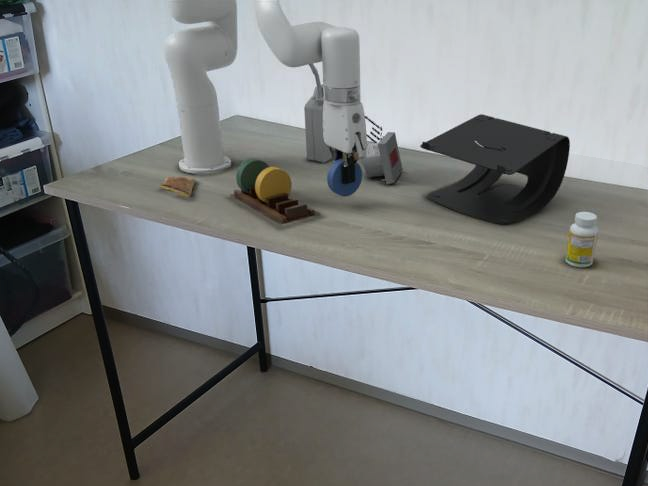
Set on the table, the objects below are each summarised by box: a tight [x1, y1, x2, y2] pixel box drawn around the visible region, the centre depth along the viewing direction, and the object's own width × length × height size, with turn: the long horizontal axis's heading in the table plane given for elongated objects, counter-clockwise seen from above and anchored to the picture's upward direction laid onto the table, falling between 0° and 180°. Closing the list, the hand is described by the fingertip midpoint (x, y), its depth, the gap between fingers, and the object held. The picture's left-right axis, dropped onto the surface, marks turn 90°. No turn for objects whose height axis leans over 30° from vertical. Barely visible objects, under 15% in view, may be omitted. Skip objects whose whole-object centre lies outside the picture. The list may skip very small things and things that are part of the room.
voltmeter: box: [361, 115, 403, 186], centre depth 185 cm, size 27×11×10 cm, turn 23°
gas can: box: [303, 63, 332, 164], centre depth 188 cm, size 15×5×25 cm, turn 155°
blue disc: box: [326, 158, 363, 198], centre depth 162 cm, size 2×8×8 cm, turn 131°
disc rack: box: [229, 186, 321, 226], centre depth 164 cm, size 22×10×3 cm, turn 41°
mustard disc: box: [255, 166, 293, 203], centre depth 162 cm, size 2×8×8 cm, turn 131°
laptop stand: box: [419, 113, 571, 225], centre depth 168 cm, size 26×24×16 cm
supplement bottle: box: [565, 211, 599, 268], centre depth 142 cm, size 5×5×10 cm
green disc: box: [235, 157, 270, 194], centre depth 166 cm, size 2×8×8 cm, turn 130°
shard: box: [159, 176, 196, 198], centre depth 170 cm, size 11×8×2 cm
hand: (344, 180), depth 162 cm, fingers closed on blue disc, 2 cm apart
